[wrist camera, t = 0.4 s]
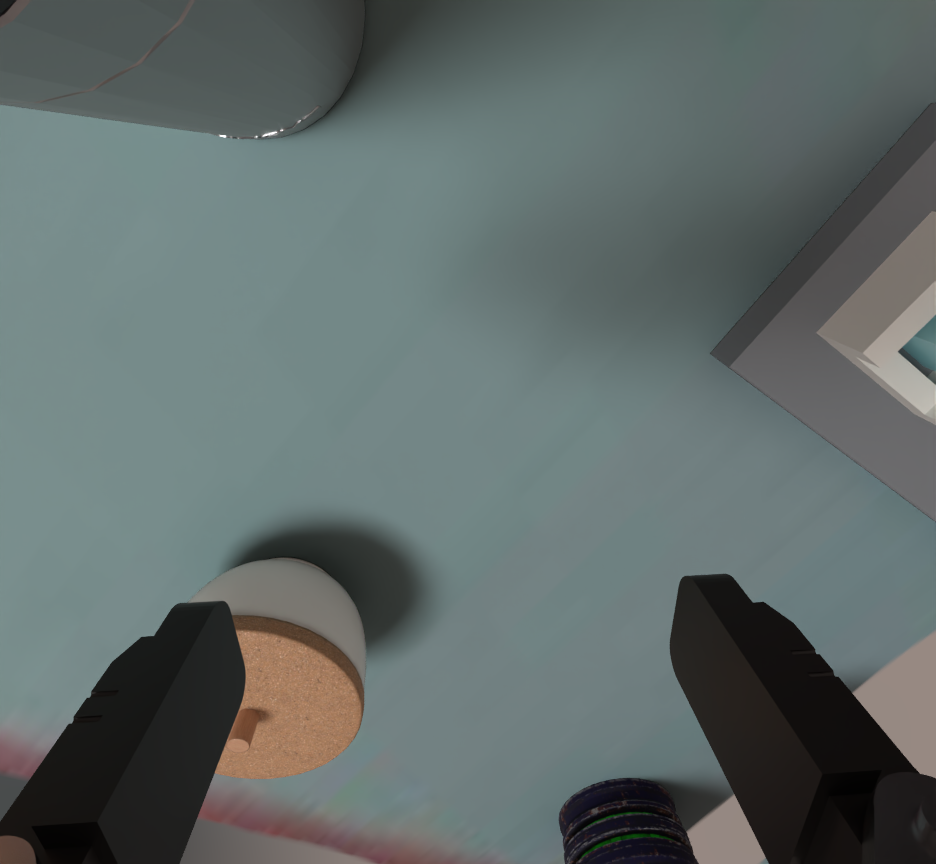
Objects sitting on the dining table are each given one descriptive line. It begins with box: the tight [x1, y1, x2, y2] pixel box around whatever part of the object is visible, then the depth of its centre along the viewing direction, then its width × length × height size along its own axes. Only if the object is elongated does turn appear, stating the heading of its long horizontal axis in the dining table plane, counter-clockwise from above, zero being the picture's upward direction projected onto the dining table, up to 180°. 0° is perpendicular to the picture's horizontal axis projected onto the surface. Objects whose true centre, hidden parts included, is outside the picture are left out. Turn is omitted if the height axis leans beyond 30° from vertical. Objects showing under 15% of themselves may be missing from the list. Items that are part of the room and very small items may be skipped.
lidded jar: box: [187, 557, 366, 779], centre depth 28 cm, size 11×11×9 cm
